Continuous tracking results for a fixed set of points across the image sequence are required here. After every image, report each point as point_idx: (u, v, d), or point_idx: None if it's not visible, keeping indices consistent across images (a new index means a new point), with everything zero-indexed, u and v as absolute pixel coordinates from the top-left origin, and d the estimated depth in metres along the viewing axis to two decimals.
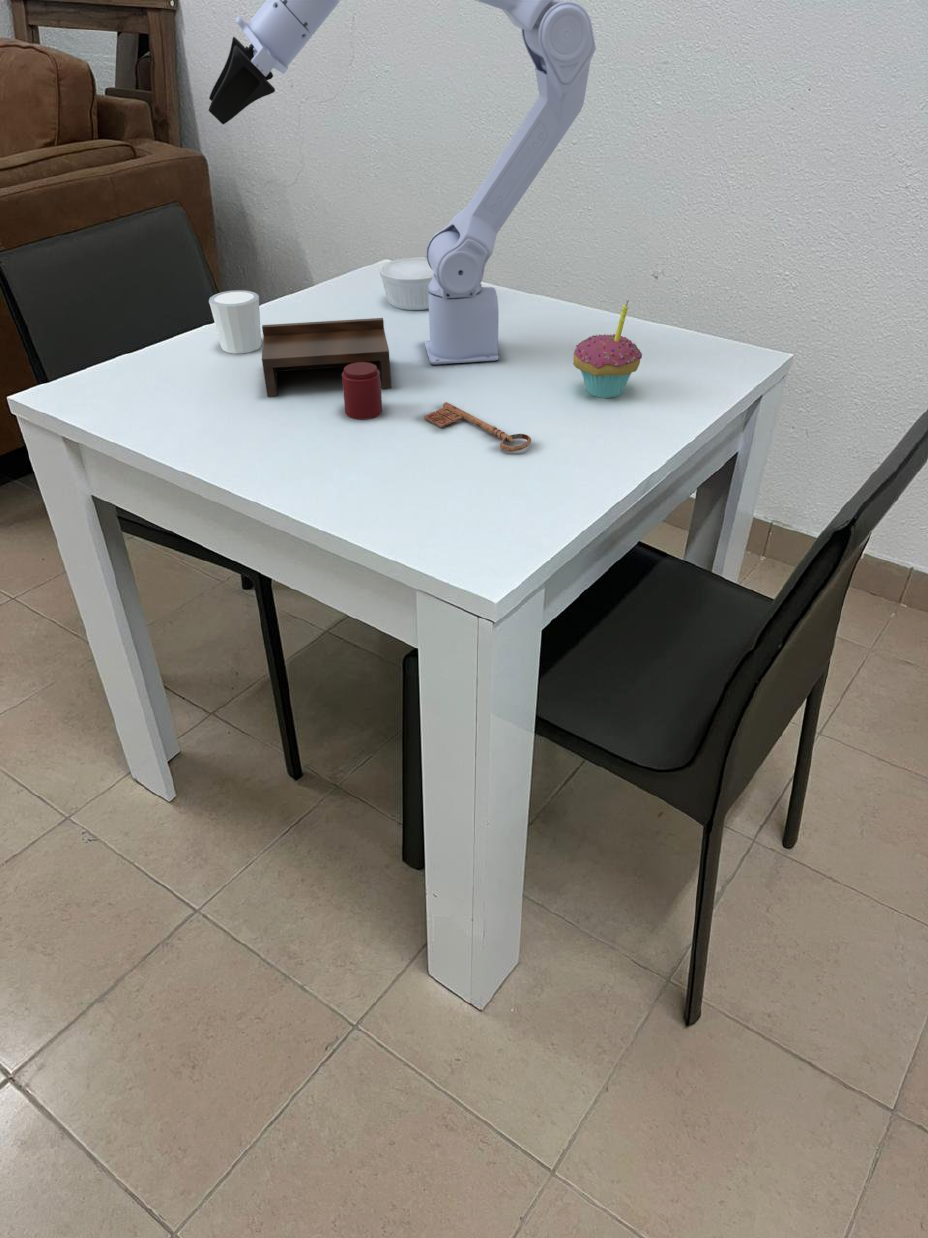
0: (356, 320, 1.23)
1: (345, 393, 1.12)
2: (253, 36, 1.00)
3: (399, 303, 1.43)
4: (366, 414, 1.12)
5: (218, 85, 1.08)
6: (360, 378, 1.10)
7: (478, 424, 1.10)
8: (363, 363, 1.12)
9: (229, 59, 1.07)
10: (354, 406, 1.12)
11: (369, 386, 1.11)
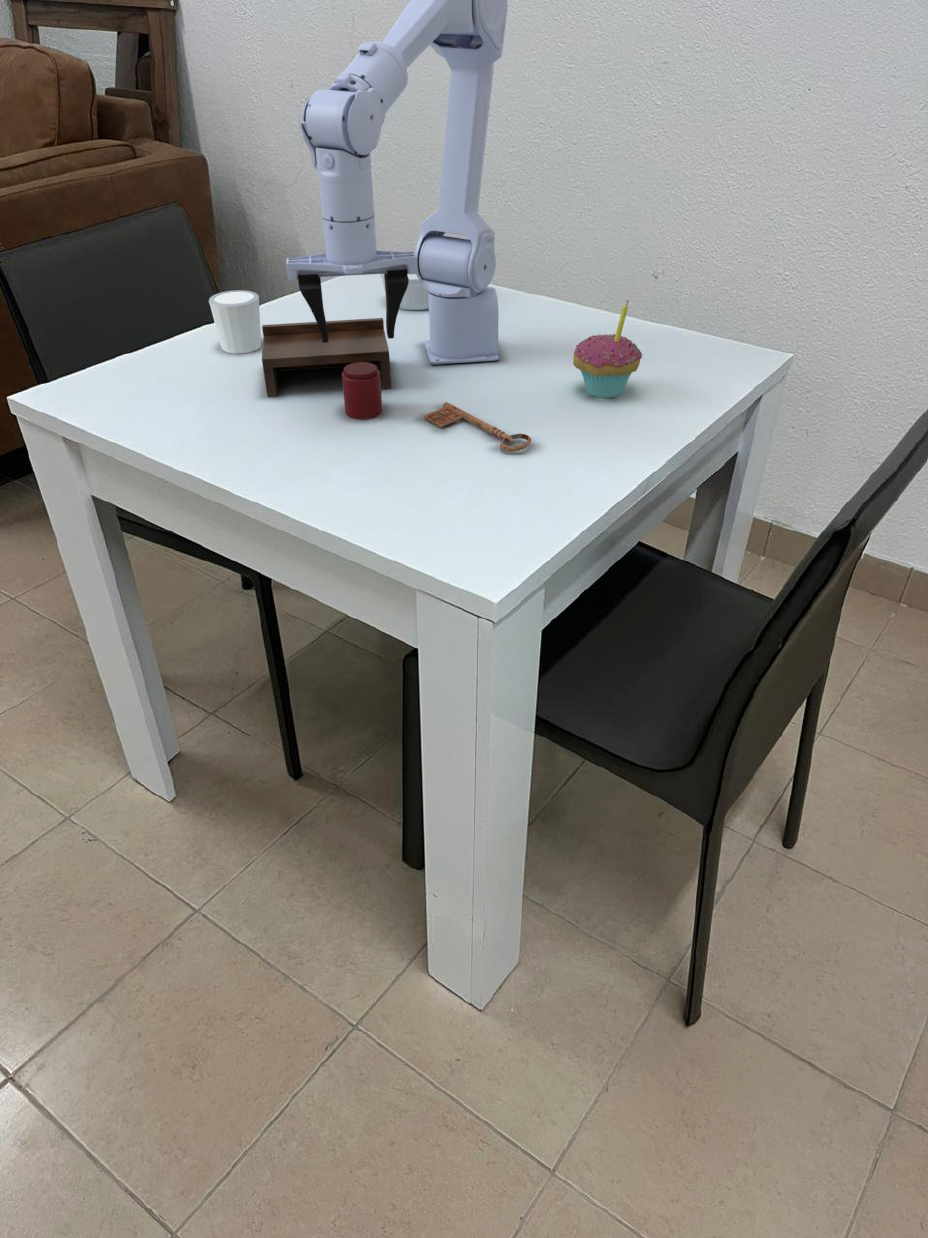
0: (356, 320, 1.23)
1: (345, 393, 1.12)
2: (384, 262, 1.02)
3: None
4: (366, 414, 1.12)
5: (326, 327, 1.07)
6: (360, 378, 1.10)
7: (478, 424, 1.10)
8: (363, 363, 1.12)
9: None
10: (354, 406, 1.12)
11: (369, 386, 1.11)
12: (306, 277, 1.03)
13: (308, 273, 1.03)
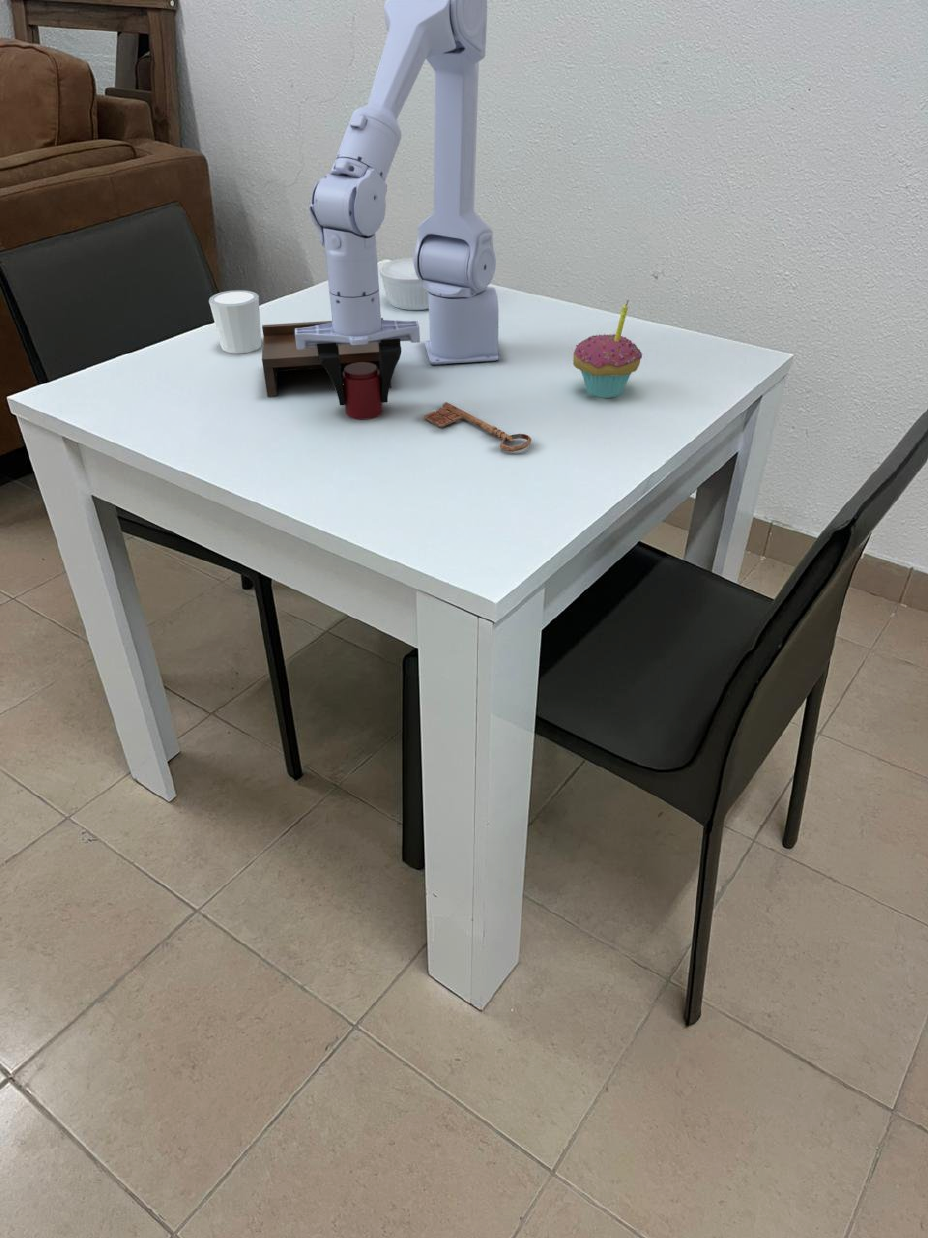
0: None
1: (345, 393, 1.12)
2: (388, 332, 1.07)
3: (399, 303, 1.43)
4: (366, 414, 1.12)
5: (343, 391, 1.12)
6: (360, 378, 1.10)
7: (478, 424, 1.10)
8: (363, 363, 1.12)
9: (340, 370, 1.09)
10: (354, 406, 1.12)
11: (369, 386, 1.11)
12: (325, 346, 1.08)
13: (327, 342, 1.08)
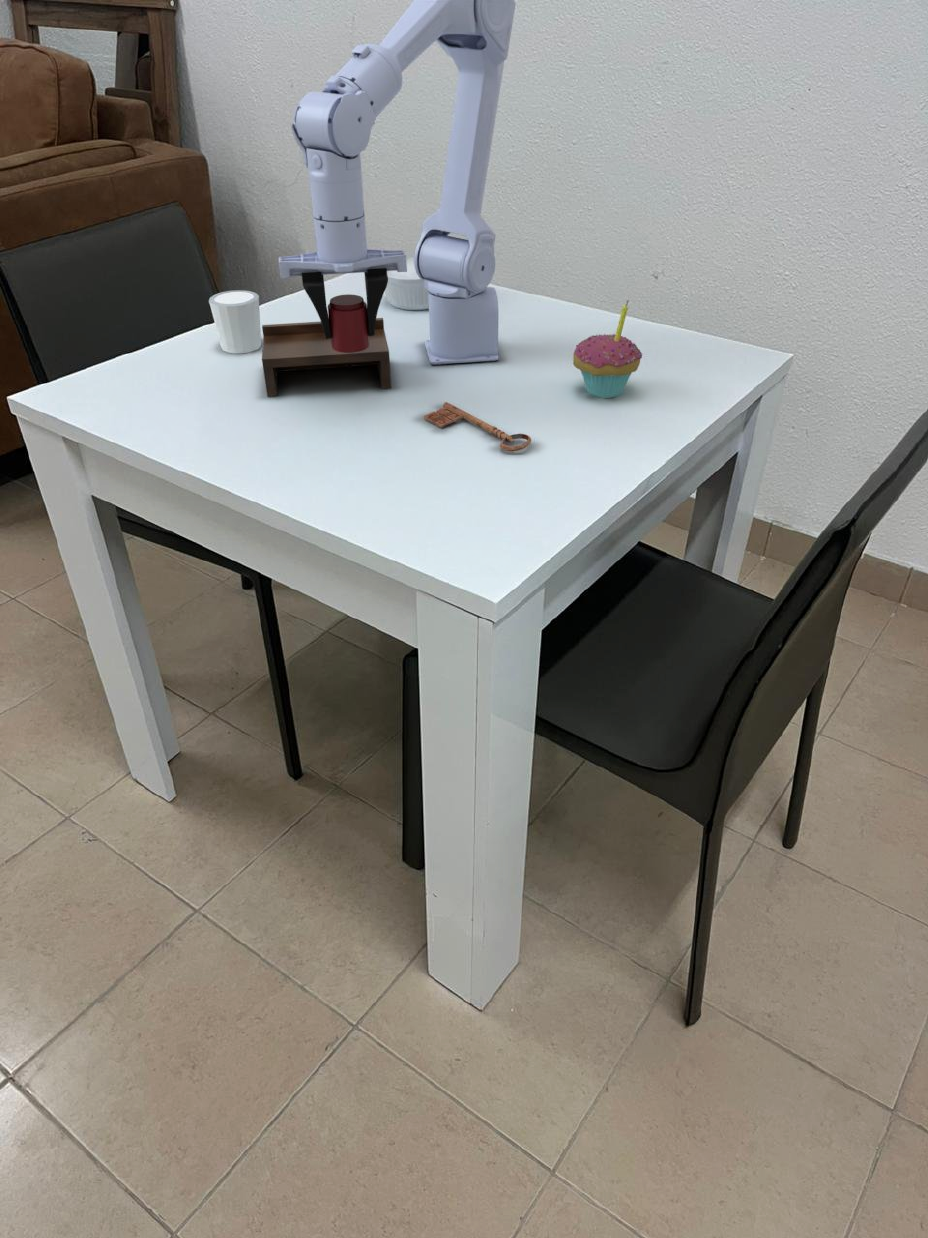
0: None
1: (331, 325, 1.09)
2: (374, 260, 1.05)
3: (399, 303, 1.43)
4: (353, 347, 1.10)
5: None
6: (346, 309, 1.07)
7: (478, 424, 1.10)
8: (349, 295, 1.10)
9: None
10: (340, 339, 1.09)
11: (356, 317, 1.08)
12: (309, 275, 1.06)
13: (311, 271, 1.06)
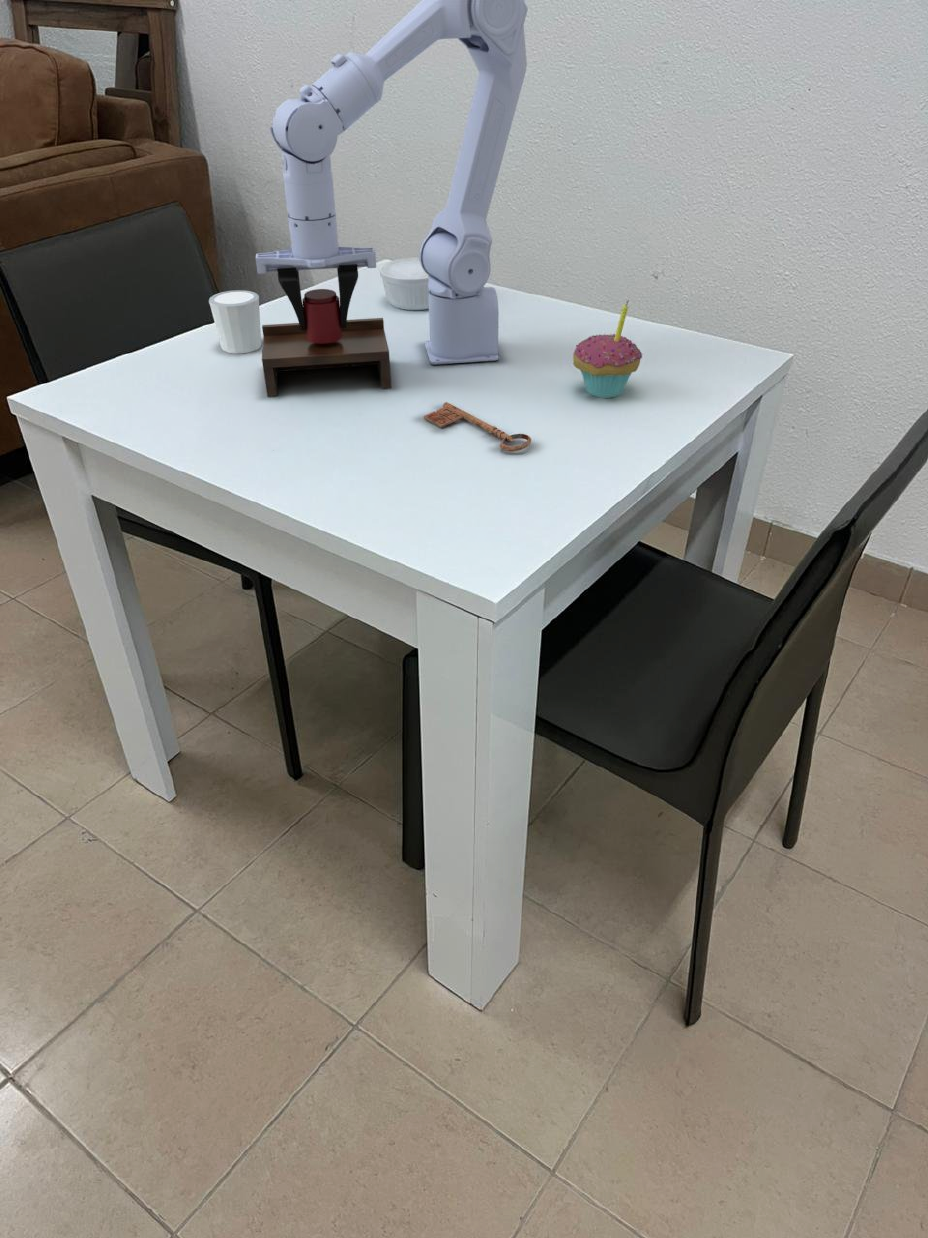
0: (356, 320, 1.23)
1: (306, 318, 1.17)
2: (345, 257, 1.12)
3: (399, 303, 1.43)
4: (326, 338, 1.17)
5: None
6: (319, 302, 1.15)
7: (478, 424, 1.10)
8: (323, 289, 1.17)
9: (300, 294, 1.14)
10: (314, 330, 1.17)
11: (328, 310, 1.15)
12: (285, 270, 1.13)
13: (287, 266, 1.13)
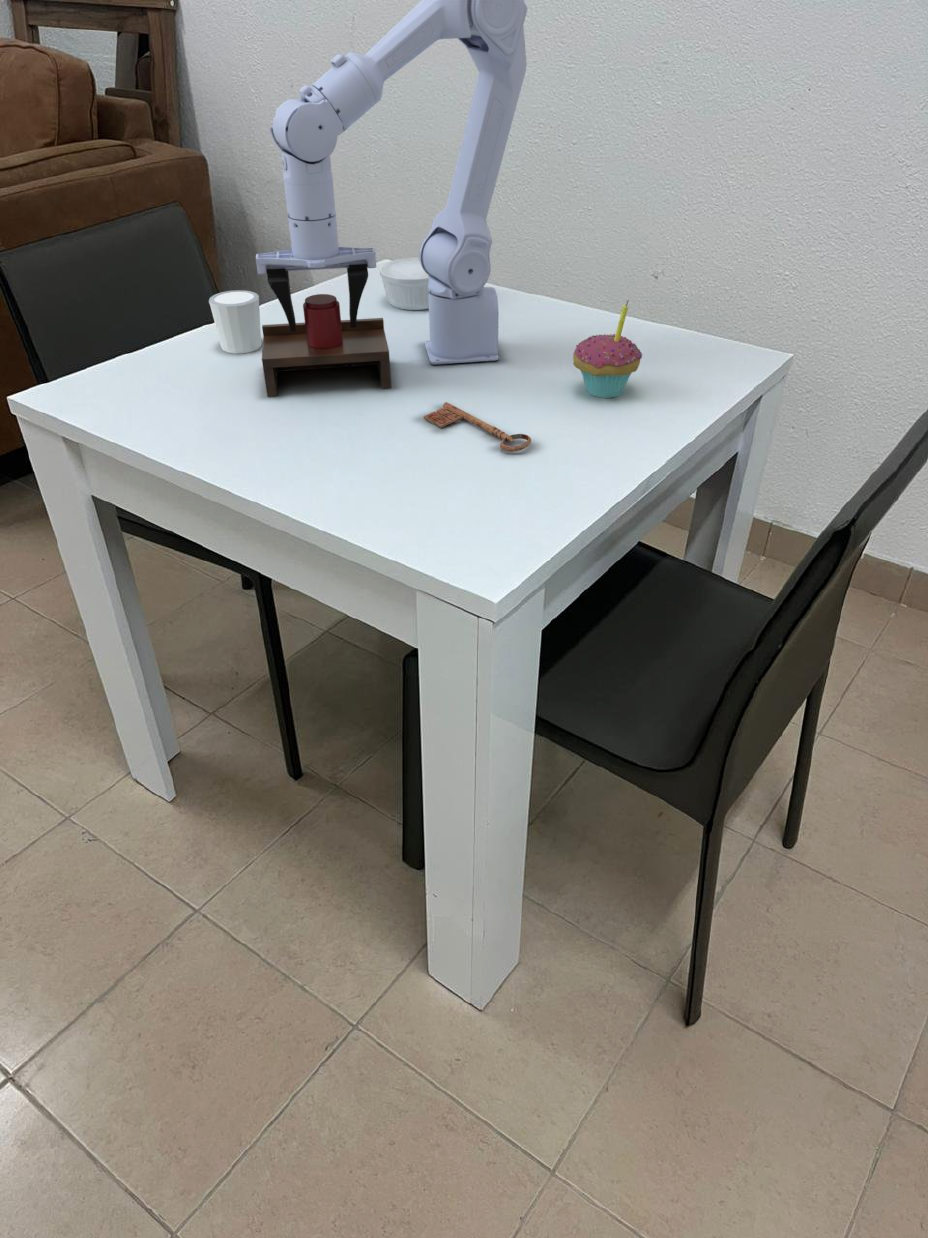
0: None
1: (306, 323, 1.17)
2: (345, 257, 1.12)
3: (399, 303, 1.43)
4: (326, 343, 1.18)
5: (293, 317, 1.16)
6: (320, 307, 1.15)
7: (478, 424, 1.10)
8: (324, 295, 1.18)
9: (289, 295, 1.14)
10: (315, 335, 1.17)
11: (329, 315, 1.16)
12: (274, 271, 1.13)
13: (276, 267, 1.13)
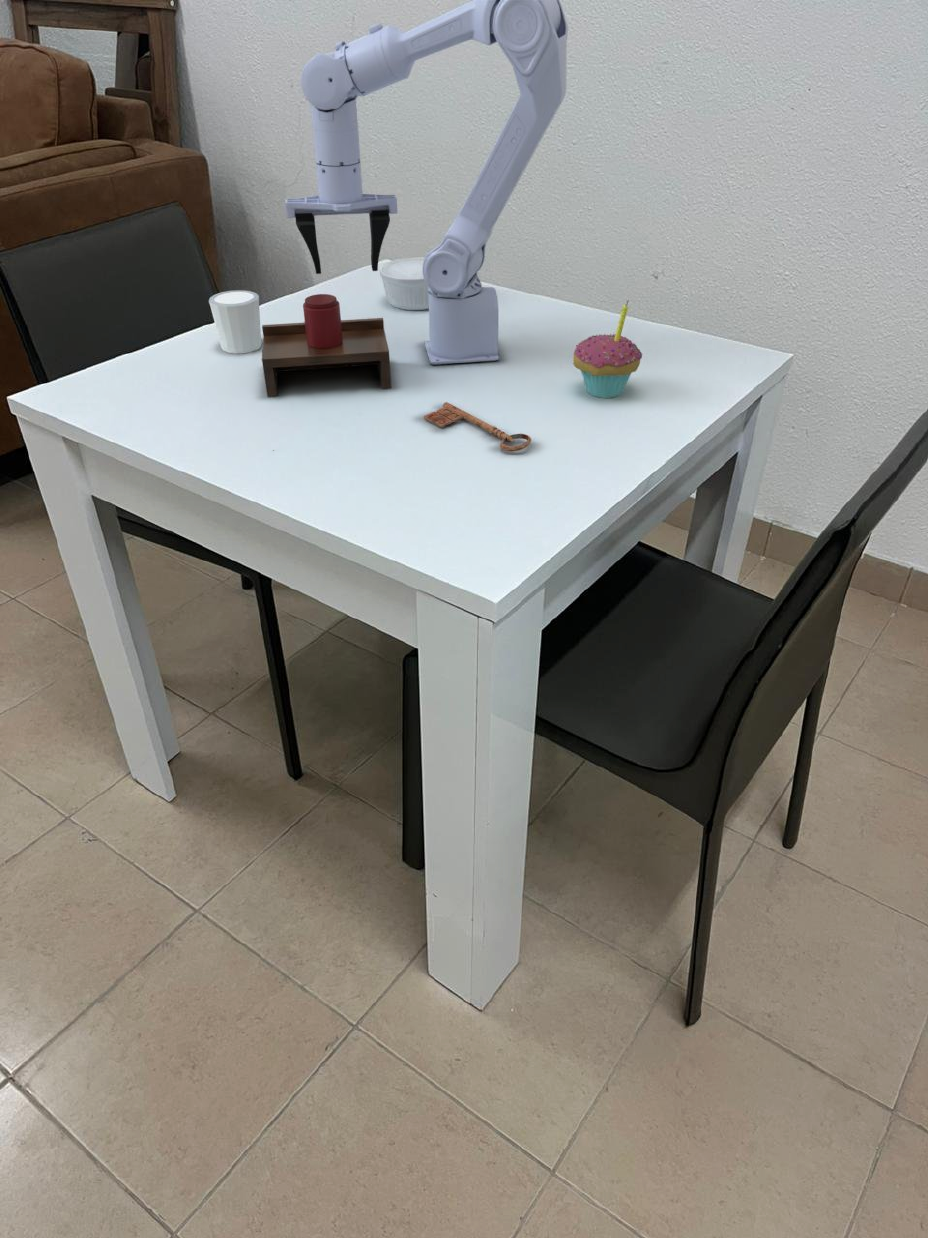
0: (356, 320, 1.23)
1: (306, 323, 1.17)
2: (369, 202, 1.20)
3: (399, 303, 1.43)
4: (326, 343, 1.18)
5: (319, 259, 1.24)
6: (320, 307, 1.15)
7: (478, 424, 1.10)
8: (324, 295, 1.18)
9: None
10: (315, 335, 1.17)
11: (329, 315, 1.16)
12: (302, 215, 1.21)
13: (304, 212, 1.21)
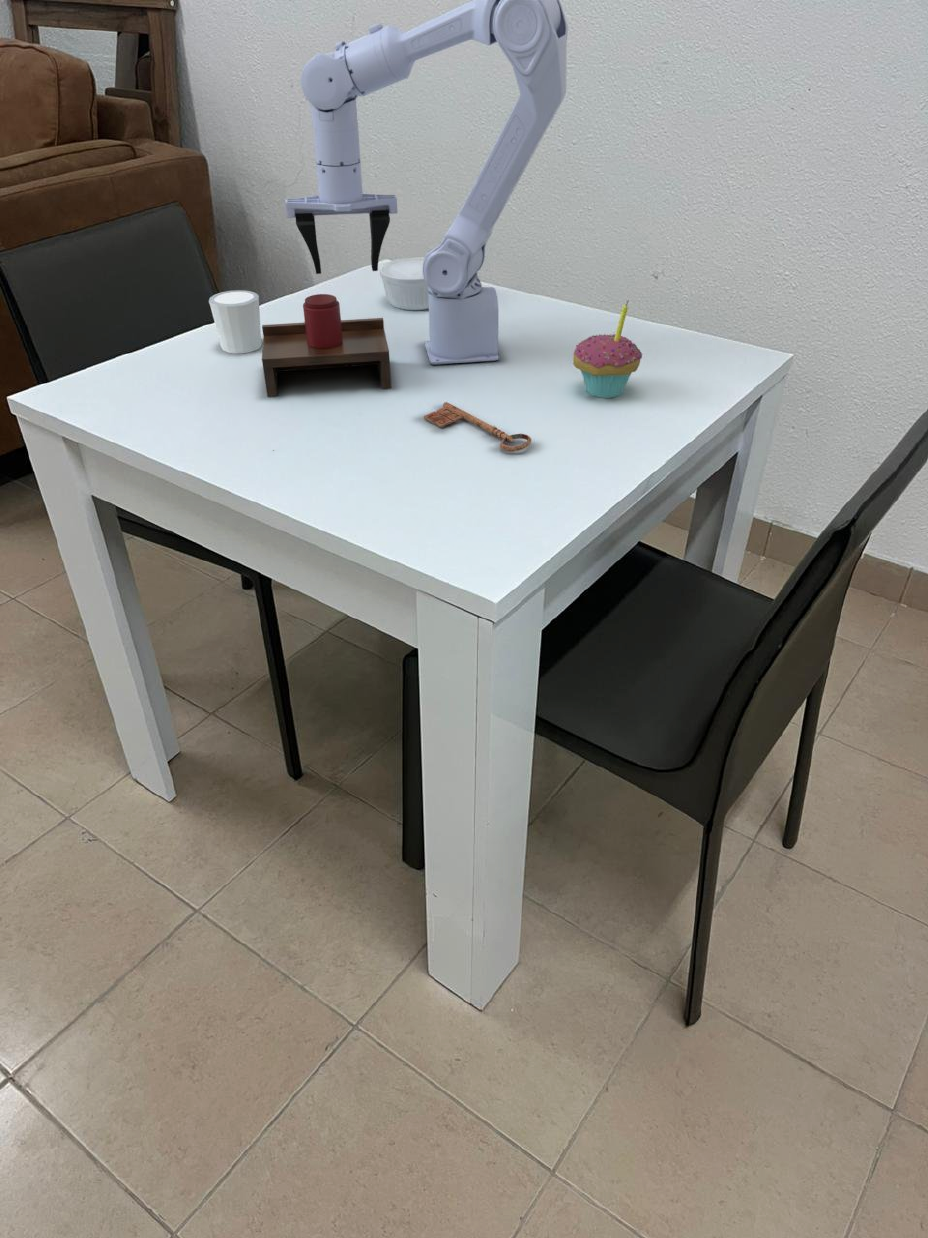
0: (356, 320, 1.23)
1: (306, 323, 1.17)
2: (369, 202, 1.20)
3: (399, 303, 1.43)
4: (326, 343, 1.18)
5: (319, 259, 1.24)
6: (320, 307, 1.15)
7: (478, 424, 1.10)
8: (324, 295, 1.18)
9: None
10: (315, 335, 1.17)
11: (329, 315, 1.16)
12: (302, 215, 1.21)
13: (304, 212, 1.21)
